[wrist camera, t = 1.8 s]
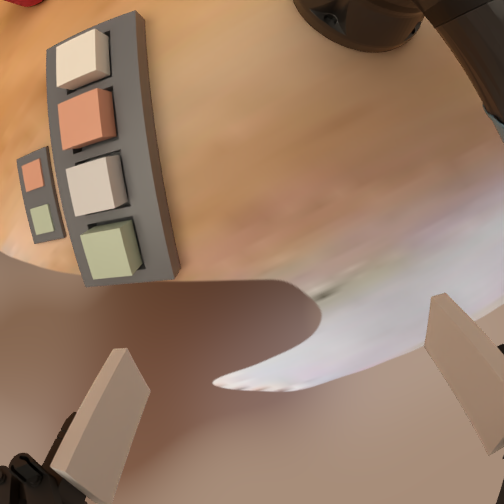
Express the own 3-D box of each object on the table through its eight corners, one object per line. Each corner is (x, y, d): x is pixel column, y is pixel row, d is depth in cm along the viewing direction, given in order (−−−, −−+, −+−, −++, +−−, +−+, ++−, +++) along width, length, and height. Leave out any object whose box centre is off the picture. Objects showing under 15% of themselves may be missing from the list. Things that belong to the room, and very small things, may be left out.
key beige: (81, 165, 27) (65, 169, 24) (119, 154, 27) (105, 156, 24) (90, 209, 29) (75, 216, 26) (128, 201, 29) (114, 208, 26)
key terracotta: (74, 106, 25) (57, 104, 22) (111, 92, 24) (97, 87, 22) (78, 148, 27) (62, 150, 24) (116, 136, 26) (102, 136, 23)
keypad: (59, 53, 24) (46, 49, 21) (144, 19, 23) (135, 10, 21) (96, 276, 34) (85, 287, 32) (180, 268, 34) (174, 279, 31)
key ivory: (71, 52, 22) (56, 47, 19) (108, 36, 22) (94, 28, 19) (72, 90, 24) (56, 87, 21) (110, 75, 24) (95, 69, 21)
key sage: (94, 226, 30) (80, 235, 27) (132, 219, 29) (119, 228, 26) (105, 267, 31) (93, 279, 28) (142, 263, 31) (132, 275, 28)
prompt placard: (19, 159, 29) (15, 160, 28) (48, 146, 28) (43, 146, 28) (37, 242, 33) (33, 244, 32) (66, 236, 33) (62, 238, 32)
